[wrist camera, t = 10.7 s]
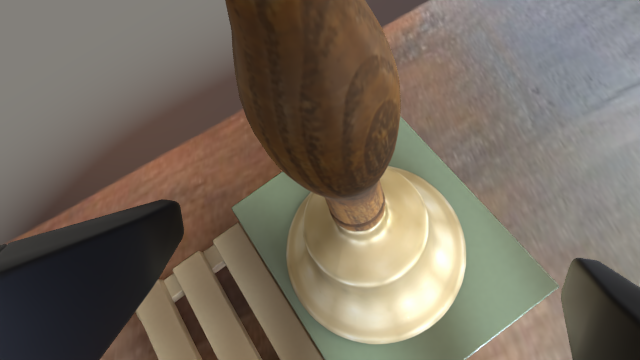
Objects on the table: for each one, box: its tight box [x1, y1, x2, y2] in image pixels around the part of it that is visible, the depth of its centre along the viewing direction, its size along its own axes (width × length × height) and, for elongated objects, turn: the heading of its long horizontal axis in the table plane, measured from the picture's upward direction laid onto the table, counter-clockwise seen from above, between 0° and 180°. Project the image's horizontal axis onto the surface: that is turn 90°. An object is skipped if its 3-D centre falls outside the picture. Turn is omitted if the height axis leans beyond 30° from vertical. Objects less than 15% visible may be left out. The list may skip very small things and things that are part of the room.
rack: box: [135, 116, 559, 360], centre depth 20 cm, size 18×12×4 cm, turn 124°
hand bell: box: [225, 0, 466, 344], centre depth 11 cm, size 8×8×16 cm
